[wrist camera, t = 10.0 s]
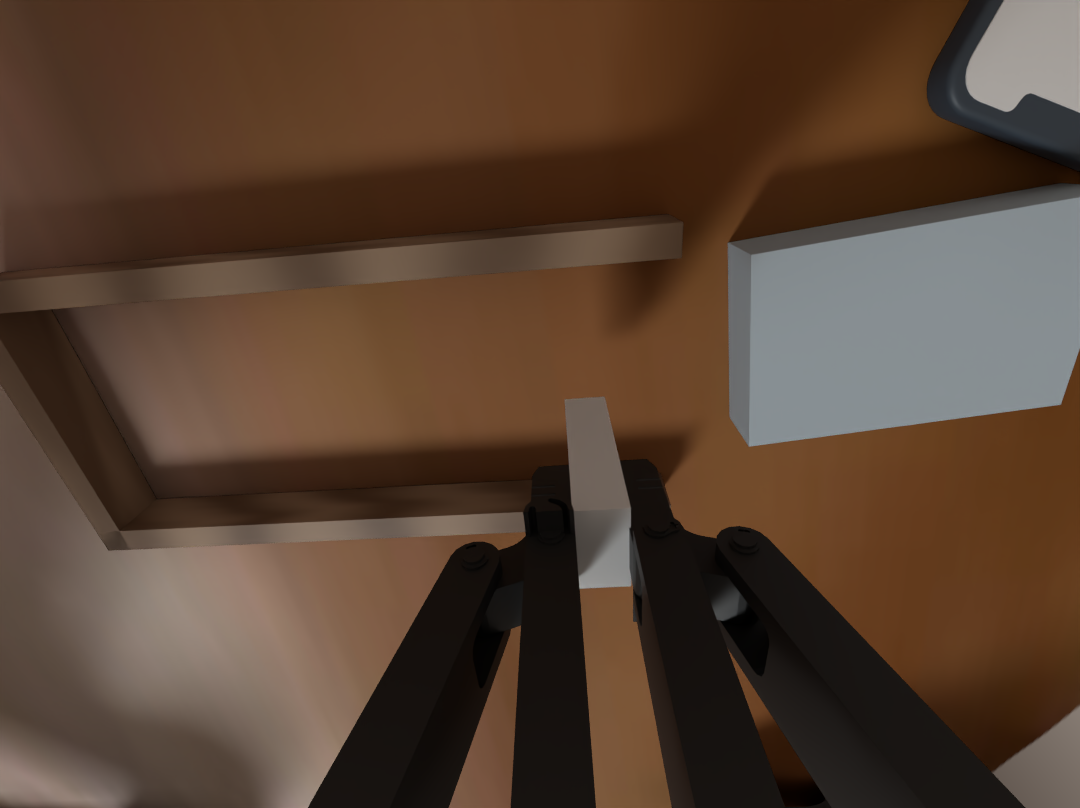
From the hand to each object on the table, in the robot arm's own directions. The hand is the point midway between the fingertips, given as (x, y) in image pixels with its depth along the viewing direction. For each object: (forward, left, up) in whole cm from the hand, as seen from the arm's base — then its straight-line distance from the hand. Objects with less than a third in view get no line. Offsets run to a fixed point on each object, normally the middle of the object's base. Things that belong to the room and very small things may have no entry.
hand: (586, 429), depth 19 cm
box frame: (-10, 0, -4) cm, 11 cm away
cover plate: (+12, +2, -5) cm, 13 cm away
